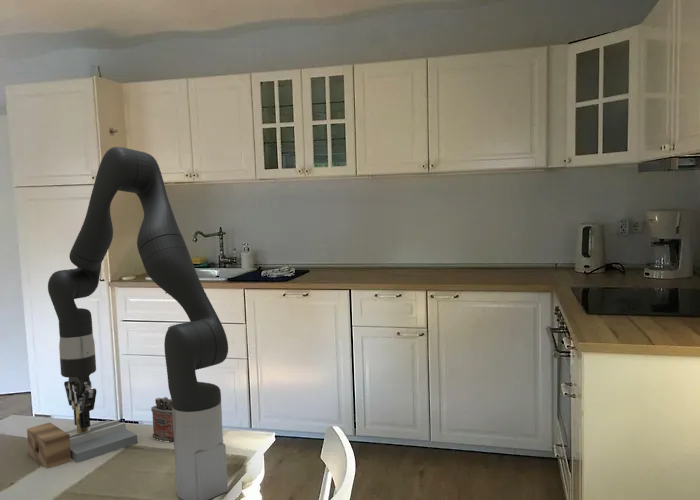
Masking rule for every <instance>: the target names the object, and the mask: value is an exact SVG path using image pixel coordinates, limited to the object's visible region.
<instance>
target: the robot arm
mask: <svg viewBox="0 0 700 500" xmlns="http://www.w3.org/2000/svg"><path fill="white" fill-rule="evenodd" d="M163 178H164V177H163V175H162V171H161V169H160V166H159V163H158V161H157V159H155V157H154V156H153V155H152V154H151V153H150V154H149V153H147V152H144V151H141V150H135V149H133V148H128V147H122V146H113V147H110V148H109V149H108V150H107V151H106V152H105V153H104V155H103V156H102V158H101V161H100V162H99V166H98V169H97V173H96V176H95V180H94V184H93V188H92V190H91V194H90V198H89V202H88V207H87V209H86V215H85V218H84V220H83V223H82V225H81V227H80V230H79V232H78V234H77V236H76V238H75V240H74V243H73V245H72V247H71V249H70V252H69V256H68V257H69V260H70V262H71V264H73V265H74V266H76V268H71V269H63V270H60V269H59V270H56V271H54V272H53V273H52V274H51V275H50V277H49V278H48V282H47V290H48V291H47V292H48V295H49V298H50V301H51V303H52V305H53V308H54V310H55V314H56V316H57V319H58V331H59V333H58V334H59V342H58V343H59V344H58V347H59V348H58V349H59V364H60V366H59V367H60V375H61V377H64V378H67V379H68V380H67V381H64V382H63V383H64V384H63V385H64V389H65V390H64V391H65V392H66V398H67V402H68V405H69V406H70V407H71V409H72V411H73V419H74V420H73V422H74V425H75V426H76V427H77V421H76V406H77V405H78V412H79V426H80V428H81V429H84V428H87V427H89V426H90V425H91V416H90V415H91V414H90V412H91V411H94V409H95V403H96V397H97V389H96V388H95V387H94V388H92V387H93V386H92V381H91V379H90V376H91V375H92V374H94V373H95V372H96V371H97V361H96V360H97V359H96V346H95V343H96V342H95V339H94V333H93V332H94V331H93V318H92V312H91V311H90V310H89V309H87V308H84V307H83V308H79V307H78V306H77V304H76V302H75V300H77V299H83V298H87V297H90V296H91V295H93V294H94V292H96V290H97V288H98V287H99V284H100V283H99V282H100V277H101V271H102V269H101V268H102V263H103V261H104V259H105V257H106V255H107V253H108V250H109V249H110V246H111V244H112V242H113V237H114V228H113V227H114V226H113V221H112V215H111V205H112V201H113V199H114V198H115V196H116V194H117V193H118V191H119V192H124V193H125V192H126V193H133V194H135V195H137V198H138V199H139V201H140V204H141V206H142V210H143V219H142V222H141V225H140V227H139V230H138V233H137V241H136V246H137V250H138V254H139V256H140V258H141V261H142V262H141V263H142V265H143V267H144V270H145V272H146V275H147V276H148V277H149V278H150V279H151V281H153V283H155V284H156V285H157V286H158V287H159V288H160V289H161V290H162V291H164V292H166V294H168V295H169V296H170V297H171V298H173V299H174V300H175V301H176V302H177V303H178V304H179V305H180V307H181V308H182V309H183V310H184V313H186V315H187V318H188V320H189V321H186V322H183V323H176V324H173V325H171V326H169V327H168V329H167V330H166V331H165V332H166V333H165V336H164V346H163V347H164V358H165V367H166V374H167V385H168V386H167V387H168V391H169V394H170V399H171V400H172V414H173V434H174V443H173V448H174V449H173V451H174V466H175V467H174V468H175V483H176V484H175V485H176V495H177V497H178V498H179V499H181V500H211V499H213V498H216V497H217V496H220V495H222V494H224V493H226V492H228V489H229V488H228V471H227V453H226V452H227V447H226V444H225V443H224V435H223V434H224V432H223V430H224V429H223V410H222V409H223V408H222V392H221V388H220V387H219V386H218V385H216V384H214V383H211V382H210V383H209V382H204V381H198V380H197V374H196V373H197V372H196V371H197V370H201V369H205V368H208V367H213V366H216V365H220V364H221V363H224V361H225V360H226V359H227V357H228V354H229V342H228V338H227V333H226V331H225V328H224V326H223V324H222V322H221V320H220V318H219V316H218V314H217V312H216V310H215V309H214V307H213V304H212V303H211V301H210V299H209V297H208V295H207V293H206V291H205V289H204V287H203V284H202V282H201V280H200V277H199V276H198V274H197V273H198V272H197V271H196V268H195V266H194V263H193V260H192V258H191V255H190V251H189V249H188V246H187V245H186V242H185V239H184V236H183V235H182V233H181V230H180V228H179V226H178V223H177V221H176V220H177V219H176V217H175V215H174V212H173V208H172V206H171V203H170V200H169V197H168V194H167V191H166V186H165V183H164V182H165V181H164V179H163ZM86 405H87V406H86Z"/></svg>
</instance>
